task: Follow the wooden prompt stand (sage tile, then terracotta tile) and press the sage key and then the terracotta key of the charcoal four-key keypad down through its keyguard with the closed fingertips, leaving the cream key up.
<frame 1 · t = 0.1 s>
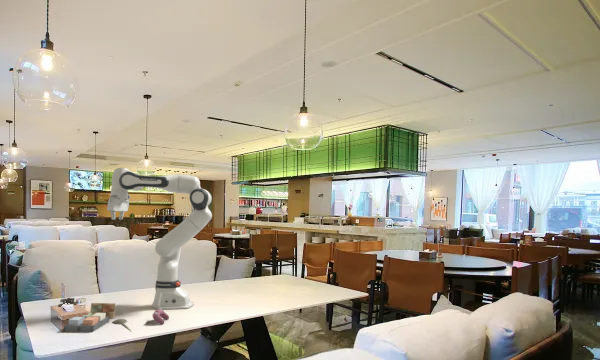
hand: (117, 219, 211), 48 cm above the table, tool pointing down, fingers open, 8 cm apart
key sage: (84, 317, 166), point 4 cm above the table, slide at 0.0 cm
prompt stand: (101, 320, 176), on the table
pink neck pillow: (160, 322, 176), on the table
key cream: (98, 317, 166), point 4 cm above the table, slide at 0.0 cm
key terracotta: (90, 322, 159), point 4 cm above the table, slide at 0.0 cm
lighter: (66, 319, 176), on the table
soupspoon: (123, 329, 166), on the table
key blue: (76, 321, 159), point 4 cm above the table, slide at 0.0 cm
keypad: (86, 328, 162), on the table
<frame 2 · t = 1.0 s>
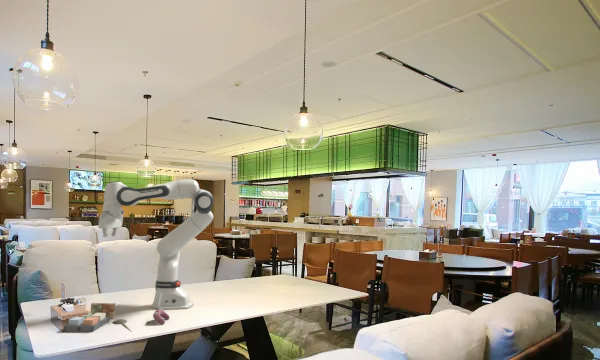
hand: (109, 236, 198), 39 cm above the table, tool pointing down, fingers open, 8 cm apart
nothing on the table moved.
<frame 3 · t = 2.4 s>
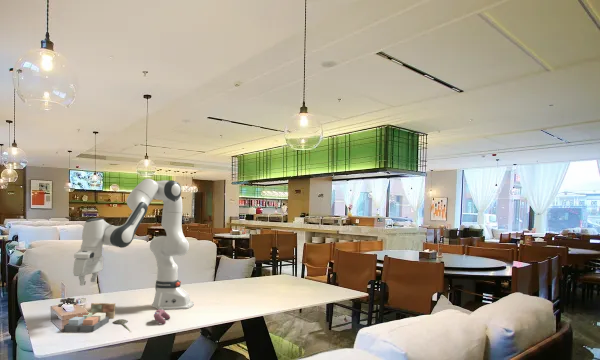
hand: (87, 283, 168), 19 cm above the table, tool pointing down, fingers open, 8 cm apart
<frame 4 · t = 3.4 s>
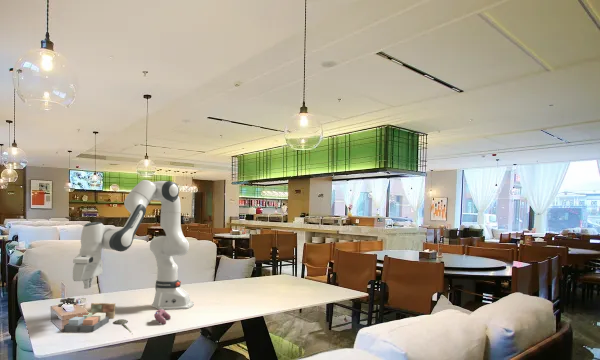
hand: (87, 288, 167), 17 cm above the table, tool pointing down, fingers closed
nothing on the table moved.
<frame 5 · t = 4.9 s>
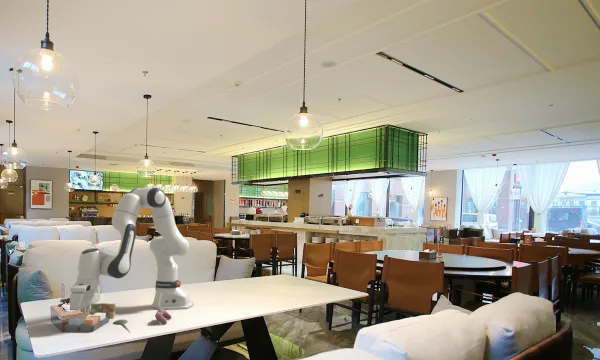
hand: (84, 315, 166), 5 cm above the table, tool pointing down, fingers closed, pressing on key sage
key sage: (84, 319, 166), point 3 cm above the table, slide at 0.8 cm, touching gripper
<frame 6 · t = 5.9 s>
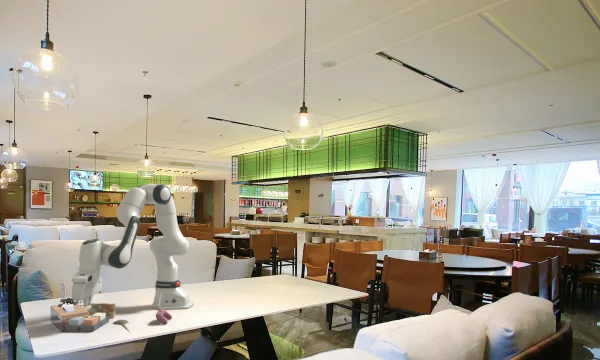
hand: (87, 305, 167), 9 cm above the table, tool pointing down, fingers closed
key sage: (84, 320, 166), point 3 cm above the table, slide at 1.4 cm
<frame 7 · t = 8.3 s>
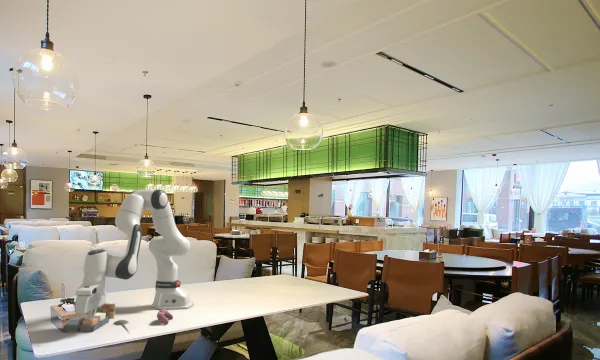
hand: (90, 319, 159), 5 cm above the table, tool pointing down, fingers closed, pressing on key terracotta
key terracotta: (90, 323, 159), point 3 cm above the table, slide at 0.5 cm, touching gripper
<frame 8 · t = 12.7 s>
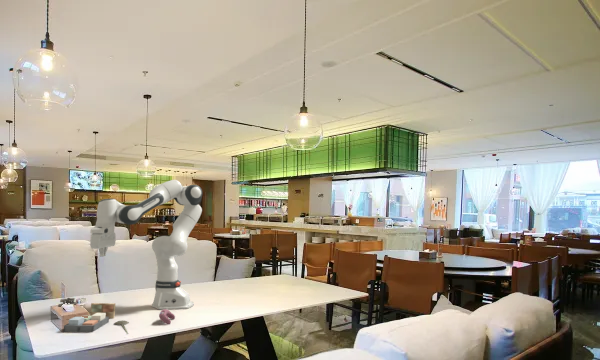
hand: (102, 256, 189), 29 cm above the table, tool pointing down, fingers closed
key terracotta: (90, 325, 159), point 3 cm above the table, slide at 1.4 cm
at the end: key sage slide at 1.4 cm; key terracotta slide at 1.4 cm; key cream slide at 0.0 cm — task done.
